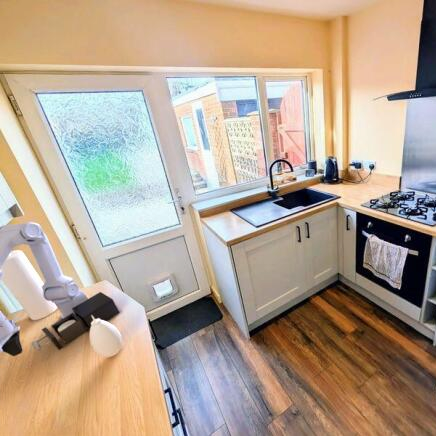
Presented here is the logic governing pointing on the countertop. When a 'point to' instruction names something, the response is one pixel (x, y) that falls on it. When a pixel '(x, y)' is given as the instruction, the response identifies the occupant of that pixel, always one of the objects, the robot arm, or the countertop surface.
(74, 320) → the grey short cylinder
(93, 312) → the black drawer box
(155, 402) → the countertop surface
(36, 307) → the cylinder container
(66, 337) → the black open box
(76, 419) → the countertop surface
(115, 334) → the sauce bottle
